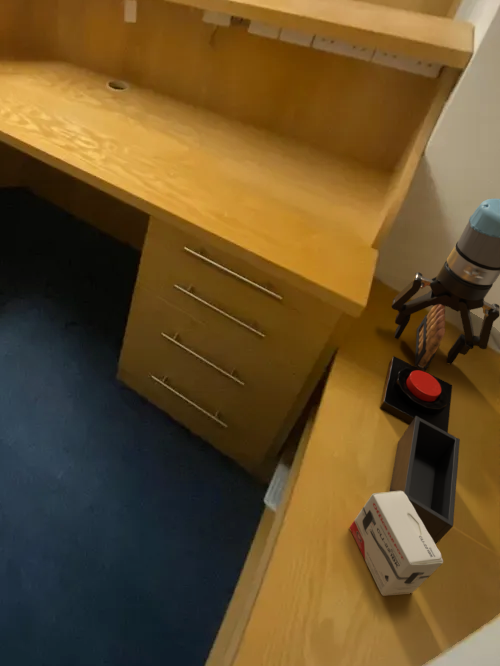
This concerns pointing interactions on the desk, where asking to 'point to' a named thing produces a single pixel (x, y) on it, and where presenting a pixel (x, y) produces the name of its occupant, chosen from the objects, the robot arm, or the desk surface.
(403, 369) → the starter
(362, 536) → the ink box
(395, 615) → the desk surface
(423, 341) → the ammunition clip
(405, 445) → the box
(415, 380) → the button
